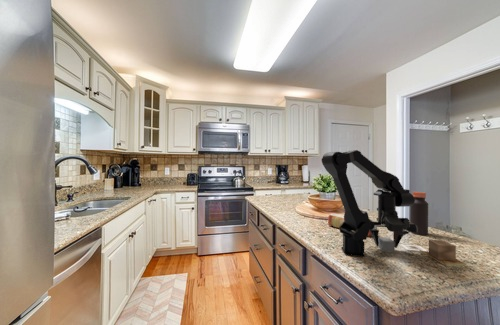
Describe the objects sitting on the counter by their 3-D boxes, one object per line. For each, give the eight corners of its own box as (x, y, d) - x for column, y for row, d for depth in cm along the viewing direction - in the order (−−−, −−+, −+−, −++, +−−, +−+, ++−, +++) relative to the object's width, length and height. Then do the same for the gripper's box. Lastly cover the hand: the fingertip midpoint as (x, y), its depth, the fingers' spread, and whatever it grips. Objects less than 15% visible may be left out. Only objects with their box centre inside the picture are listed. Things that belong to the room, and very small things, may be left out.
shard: (419, 253, 78) (419, 249, 78) (439, 254, 77) (439, 249, 77) (446, 268, 67) (446, 263, 67) (469, 269, 67) (469, 263, 67)
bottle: (421, 231, 102) (421, 191, 102) (431, 236, 95) (432, 193, 96) (406, 230, 103) (407, 191, 103) (416, 235, 96) (416, 193, 96)
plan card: (407, 250, 78) (407, 248, 78) (400, 245, 83) (400, 243, 83) (428, 252, 77) (428, 250, 77) (419, 247, 82) (419, 245, 82)
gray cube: (382, 251, 78) (382, 241, 78) (378, 247, 82) (378, 237, 82) (394, 252, 77) (394, 241, 77) (389, 248, 81) (389, 238, 81)
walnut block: (438, 259, 69) (438, 244, 69) (428, 253, 74) (428, 239, 74) (455, 261, 68) (455, 246, 68) (444, 254, 73) (444, 240, 73)
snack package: (375, 235, 96) (375, 221, 96) (369, 238, 92) (369, 223, 92) (333, 224, 113) (333, 212, 113) (326, 226, 109) (327, 213, 109)
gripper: (368, 210, 73) (368, 253, 73) (427, 213, 70) (427, 258, 70) (358, 204, 84) (357, 241, 84) (408, 206, 81) (408, 245, 81)
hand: (386, 246), depth 79 cm, fingers open, 6 cm apart
